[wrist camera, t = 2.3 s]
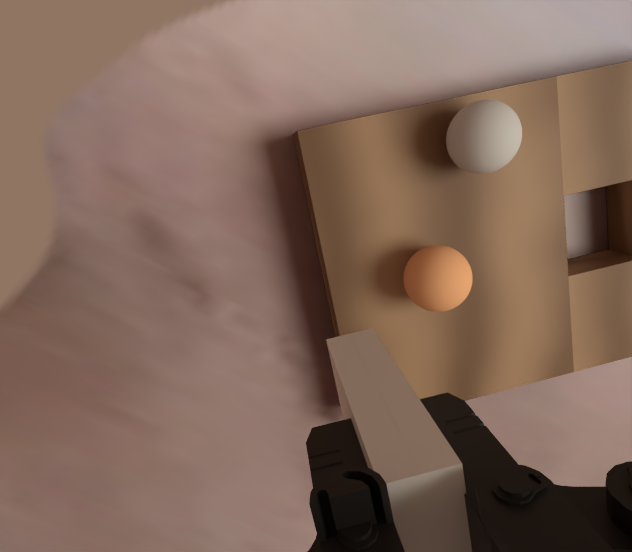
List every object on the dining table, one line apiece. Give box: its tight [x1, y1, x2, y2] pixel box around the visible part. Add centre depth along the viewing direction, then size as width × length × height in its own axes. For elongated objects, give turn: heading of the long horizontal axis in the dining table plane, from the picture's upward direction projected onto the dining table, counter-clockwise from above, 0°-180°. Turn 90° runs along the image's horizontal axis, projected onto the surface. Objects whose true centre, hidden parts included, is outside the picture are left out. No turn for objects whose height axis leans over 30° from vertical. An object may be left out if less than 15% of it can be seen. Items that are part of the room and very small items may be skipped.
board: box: [293, 61, 632, 401], centre depth 25 cm, size 20×16×2 cm
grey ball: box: [446, 100, 522, 174], centre depth 20 cm, size 3×3×3 cm
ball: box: [403, 245, 473, 312], centre depth 22 cm, size 3×3×3 cm
